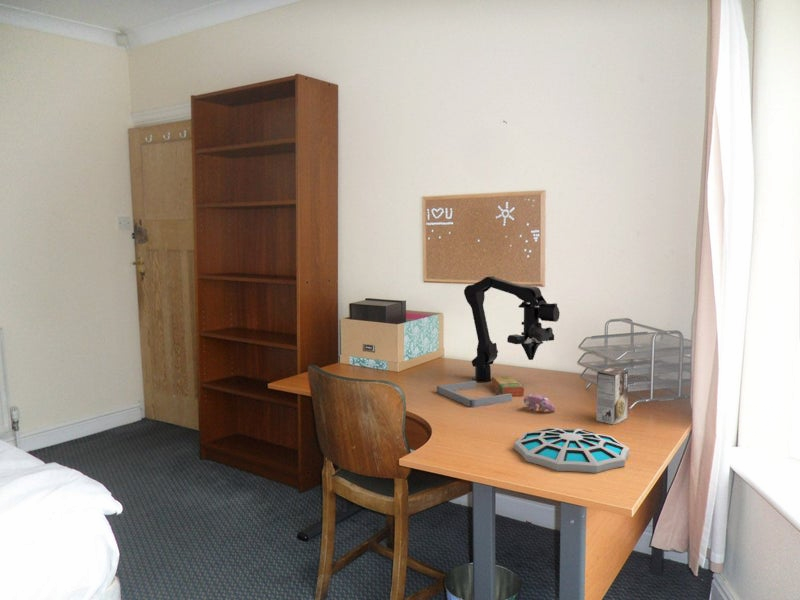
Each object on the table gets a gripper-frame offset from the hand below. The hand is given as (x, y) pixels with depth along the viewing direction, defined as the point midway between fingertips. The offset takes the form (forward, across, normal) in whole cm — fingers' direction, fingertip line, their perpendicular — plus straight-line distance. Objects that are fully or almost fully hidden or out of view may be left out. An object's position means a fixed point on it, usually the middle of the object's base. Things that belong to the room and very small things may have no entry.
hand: (530, 359), depth 237 cm
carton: (+12, -11, 0) cm, 16 cm away
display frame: (+11, -26, 0) cm, 28 cm away
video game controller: (+11, -18, -26) cm, 33 cm away
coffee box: (+11, -4, -45) cm, 47 cm away
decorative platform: (+12, -36, -61) cm, 71 cm away
